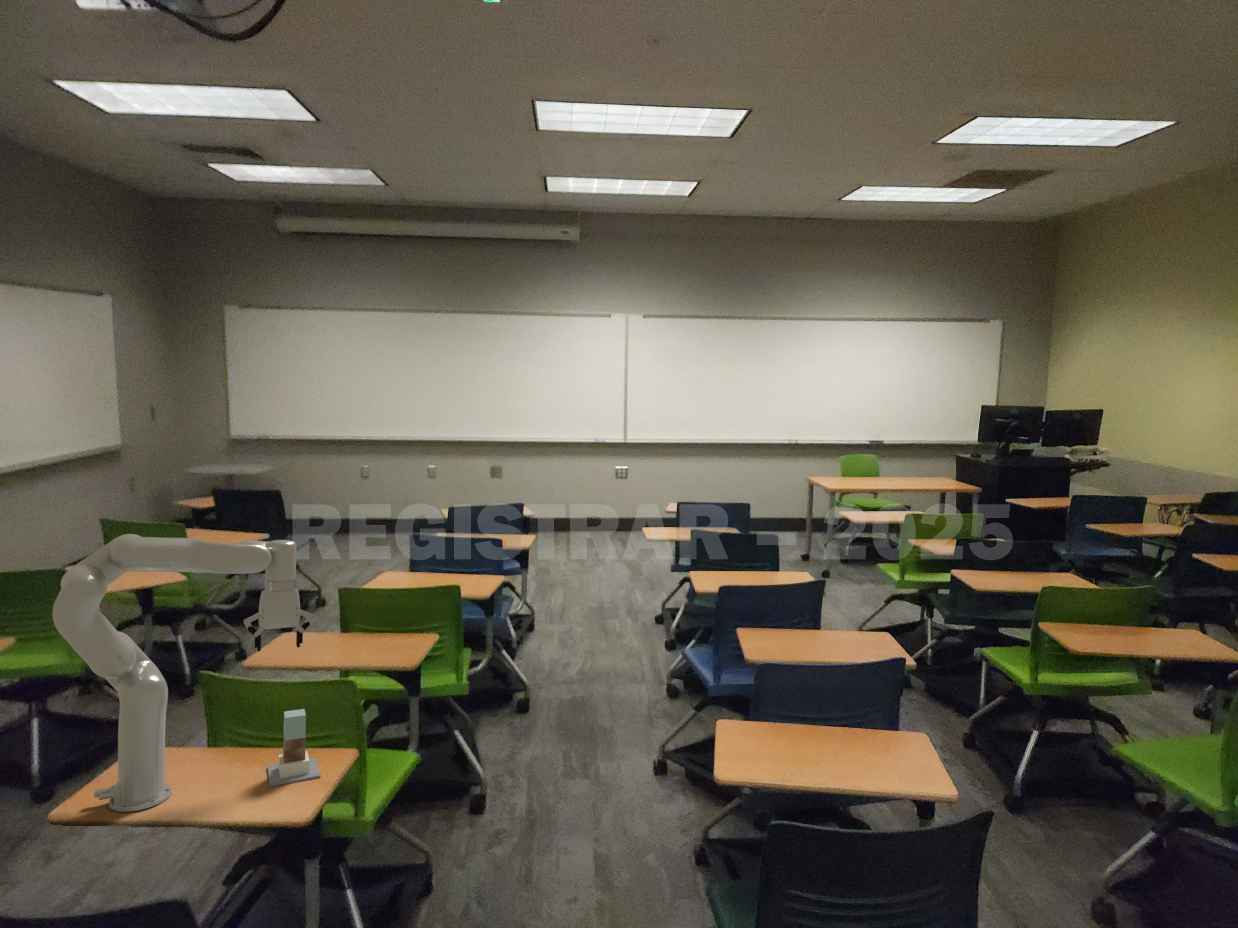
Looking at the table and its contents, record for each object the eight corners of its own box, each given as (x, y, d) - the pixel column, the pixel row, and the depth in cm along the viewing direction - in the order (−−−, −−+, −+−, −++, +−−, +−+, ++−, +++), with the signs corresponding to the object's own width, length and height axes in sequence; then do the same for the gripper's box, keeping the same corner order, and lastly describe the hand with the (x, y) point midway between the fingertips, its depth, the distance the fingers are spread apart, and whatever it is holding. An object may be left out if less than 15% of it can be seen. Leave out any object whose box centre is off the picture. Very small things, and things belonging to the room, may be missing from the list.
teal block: (284, 740, 182) (285, 717, 182) (283, 733, 187) (284, 711, 187) (305, 737, 185) (305, 714, 185) (303, 730, 189) (304, 708, 189)
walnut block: (284, 763, 183) (285, 740, 183) (283, 755, 187) (283, 733, 187) (305, 759, 185) (305, 737, 185) (303, 752, 189) (303, 730, 189)
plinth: (269, 786, 178) (270, 771, 178) (267, 767, 188) (267, 752, 188) (320, 777, 184) (320, 762, 184) (315, 759, 194) (315, 745, 194)
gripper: (313, 581, 197) (311, 641, 197) (244, 585, 188) (242, 647, 188) (316, 586, 190) (314, 648, 190) (244, 590, 182) (242, 655, 182)
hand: (278, 648), depth 189 cm, fingers open, 9 cm apart
